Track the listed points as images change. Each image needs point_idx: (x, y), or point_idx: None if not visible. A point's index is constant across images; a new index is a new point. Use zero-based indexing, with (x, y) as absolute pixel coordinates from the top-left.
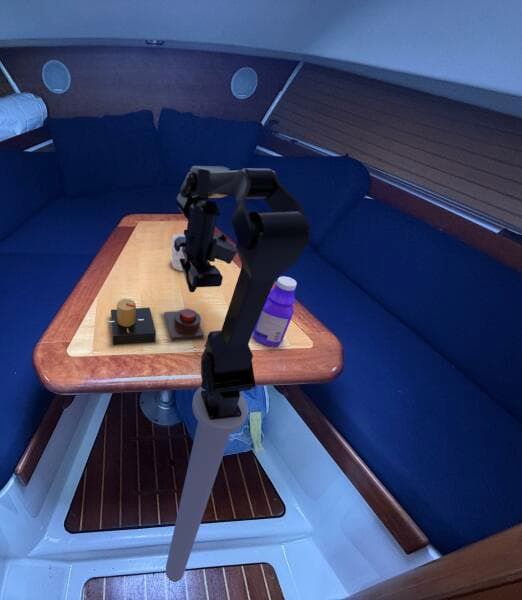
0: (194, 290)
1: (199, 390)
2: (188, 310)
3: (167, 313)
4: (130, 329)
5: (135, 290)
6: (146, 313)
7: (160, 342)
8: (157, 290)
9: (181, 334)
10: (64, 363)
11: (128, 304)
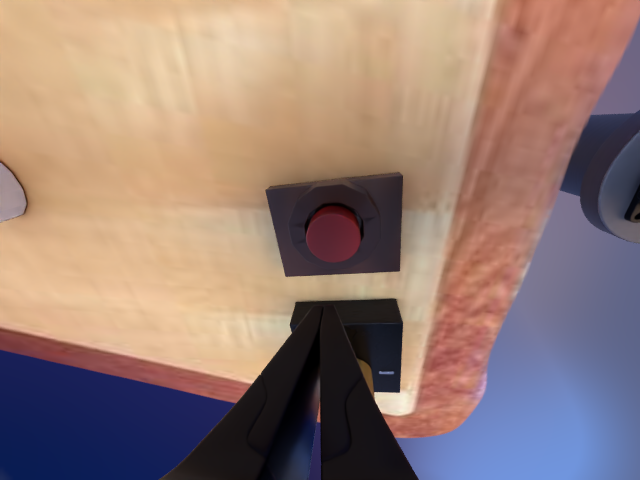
0: (336, 314)
1: (614, 222)
2: (317, 237)
3: (291, 270)
4: (381, 366)
5: (193, 319)
6: None
7: (398, 288)
8: (174, 272)
9: (390, 245)
10: (427, 418)
11: None
